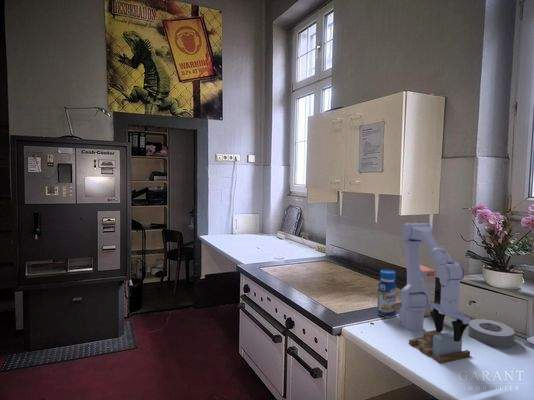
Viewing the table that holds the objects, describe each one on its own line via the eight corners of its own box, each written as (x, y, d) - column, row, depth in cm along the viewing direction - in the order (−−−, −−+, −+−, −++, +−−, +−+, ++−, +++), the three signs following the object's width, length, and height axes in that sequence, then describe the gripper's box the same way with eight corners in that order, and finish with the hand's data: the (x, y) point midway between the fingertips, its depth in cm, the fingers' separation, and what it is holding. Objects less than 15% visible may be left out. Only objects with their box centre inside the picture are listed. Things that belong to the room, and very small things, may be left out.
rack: (408, 346, 133) (408, 339, 133) (437, 340, 138) (437, 334, 137) (440, 366, 119) (440, 359, 119) (471, 359, 124) (472, 352, 123)
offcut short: (423, 338, 132) (423, 332, 132) (435, 336, 135) (436, 329, 134) (429, 342, 130) (429, 335, 130) (442, 339, 132) (442, 333, 132)
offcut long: (417, 344, 132) (417, 339, 132) (436, 341, 135) (436, 336, 135) (423, 348, 129) (424, 343, 129) (443, 344, 132) (443, 339, 132)
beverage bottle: (389, 310, 168) (391, 268, 166) (400, 317, 160) (401, 273, 158) (373, 311, 166) (374, 269, 164) (382, 318, 158) (384, 274, 156)
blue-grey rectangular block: (432, 354, 125) (433, 335, 124) (454, 350, 128) (455, 331, 128) (439, 359, 122) (440, 339, 121) (461, 354, 125) (462, 334, 125)
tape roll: (503, 353, 129) (504, 339, 129) (460, 337, 141) (461, 324, 141) (520, 341, 138) (521, 328, 138) (478, 327, 150) (479, 315, 150)
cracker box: (434, 316, 162) (436, 270, 160) (422, 316, 161) (424, 271, 159) (416, 304, 175) (418, 262, 174) (405, 305, 174) (407, 263, 173)
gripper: (424, 292, 129) (423, 329, 130) (458, 306, 115) (456, 347, 116) (439, 290, 131) (438, 326, 132) (475, 304, 118) (472, 344, 119)
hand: (447, 336), depth 124 cm, fingers open, 7 cm apart
